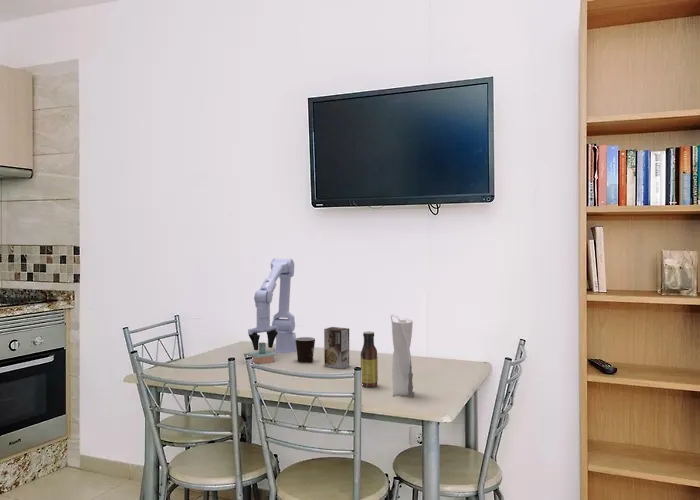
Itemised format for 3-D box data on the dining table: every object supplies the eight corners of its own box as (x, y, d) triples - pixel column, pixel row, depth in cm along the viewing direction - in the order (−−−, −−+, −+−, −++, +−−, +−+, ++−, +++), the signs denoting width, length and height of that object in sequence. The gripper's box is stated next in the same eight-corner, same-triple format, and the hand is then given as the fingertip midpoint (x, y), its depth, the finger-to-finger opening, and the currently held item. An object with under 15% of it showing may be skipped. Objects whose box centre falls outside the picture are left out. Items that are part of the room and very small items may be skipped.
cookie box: (350, 366, 247) (350, 328, 246) (341, 369, 241) (341, 330, 241) (332, 363, 252) (332, 326, 251) (323, 366, 246) (323, 328, 246)
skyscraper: (388, 396, 202) (389, 316, 201) (391, 390, 210) (391, 313, 209) (412, 398, 201) (413, 317, 200) (414, 391, 209) (415, 313, 208)
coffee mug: (306, 364, 249) (306, 341, 249) (291, 362, 254) (291, 339, 254) (323, 360, 259) (323, 337, 258) (308, 357, 264) (308, 335, 263)
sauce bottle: (367, 382, 220) (368, 330, 220) (381, 385, 216) (381, 331, 216) (356, 385, 215) (357, 332, 215) (370, 388, 211) (370, 334, 211)
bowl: (272, 359, 260) (272, 352, 260) (275, 363, 251) (275, 356, 251) (251, 360, 257) (251, 353, 257) (253, 364, 249) (253, 357, 249)
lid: (266, 351, 261) (266, 340, 261) (276, 355, 254) (276, 343, 254) (248, 354, 256) (248, 342, 256) (257, 357, 248) (257, 346, 248)
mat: (269, 353, 273) (269, 352, 273) (272, 358, 261) (272, 357, 261) (243, 354, 270) (243, 353, 270) (245, 359, 258) (245, 359, 258)
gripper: (271, 315, 262) (271, 345, 262) (244, 318, 252) (244, 349, 252) (280, 316, 257) (280, 347, 257) (253, 320, 246) (253, 352, 247)
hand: (263, 348), depth 254 cm, fingers open, 7 cm apart
